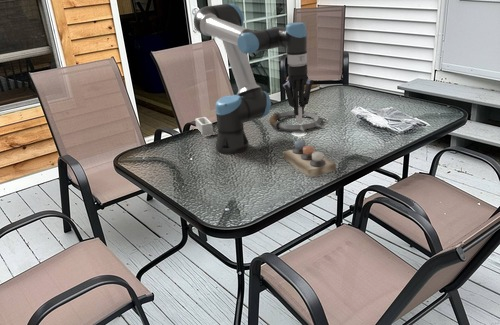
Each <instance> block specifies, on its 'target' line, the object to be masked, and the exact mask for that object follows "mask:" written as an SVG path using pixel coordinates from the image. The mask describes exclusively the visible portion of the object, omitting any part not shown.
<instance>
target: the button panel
mask: <svg viewBox="0 0 500 325" xmlns="http://www.w3.org/2000/svg"><path fill="white" fill-rule="evenodd" d="M314 152H318V151H317V150H315V149H314ZM282 154H283V159H284V160H285V161H287V162H288V163H290V164H291V165H292V166H293V167H294V168H296V169H297V170H298V171H300V172H301V173H302V174H303V175H305V176H306V177H308V178H312V177H316V176H320V175H324V173H325V174H328V172H329V173H332V171H333V172H336V171H335V170H337V164H336V163H335V162H333V161H332V160H330V159H329V158H328V157H326V156H325V155H323V160H321V161H314V160H312V154H309V155H308V154H304V153H303V148H295V147H294V148H293V149H287V150H284V151H283V153H282Z"/></svg>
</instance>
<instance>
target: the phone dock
mask: <svg viewBox="0 0 500 325" xmlns="http://www.w3.org/2000/svg"><path fill="white" fill-rule="evenodd" d="M194 120H195V128H196V129H198V130H199V131H200V132H201V134H202V135H207V134H213V131H214V129H213V122H211V120H209V119H208V117H206V116H202V117H197V118H194Z"/></svg>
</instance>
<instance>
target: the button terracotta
mask: <svg viewBox="0 0 500 325" xmlns="http://www.w3.org/2000/svg"><path fill="white" fill-rule="evenodd" d="M314 150H315V147H314V146H312V145H305V146H304V147H303V153H304V154H308V155H309V154H312V153H314Z"/></svg>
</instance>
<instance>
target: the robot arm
mask: <svg viewBox="0 0 500 325" xmlns="http://www.w3.org/2000/svg"><path fill="white" fill-rule="evenodd" d="M244 19H245V18H244V14H243V12H242V9H241V8H240V7H239V6H238V5H236V4H234V3H223V4H216V5H209V6H208V5H206V6H204V7H201V8H200V9H198V10H197V11H196V12H195V15H194V17H193V26H194V28H195V30H196V31H197V32H198V33H200V34H201V35H203V36H206V37H214V38H217V39H218V40H221V41H222V44H223V47H224V50H225V53H226V56H227V59H228V61H229V65H230V69H231V71H232V74H233V77H234V79H235V80H234V81H235V83H236V86H237V89H238V90H237V93H236V94H231V95H225V96H222V97H220V98H219V99H218V100H216V102H215V115H216V116H215V118H216V123H217V124H216V125H217V126H216V127H217V134H218V135H216V136H217V138H216V141H215V149H216V151H217V152H218V153H221V154H227V155H230V154H239V153H242V152H245V151H247V150H248V149H249V146H250V145H249V144H250V143H249V139H248V137H247V135H246V133H245V130H244V129H245V128H244V123H245V124H246V123H248V122H250V121H254V120H257V119H261V118H264V117H266V116H268V114H269V113H270V110H271V107H272V104H271V103H272V102H271V97H270V95H269V94H268V93H267V91H264V90H262V87H261V86H260V85H259V84H257V82H256V80H255V79H256V78H255V77H254V73H253V70H252V67H251V64H250V60H249V58H248V55H247V54H254V53H257V52H263V51H267V50H272V49H276V48H277V49H278V48H285V49H286V53H287V54H286V55H287V74H288V77H287V80H286V81H287V82H285V83H282V87H283V89H284V92H285V94H286V99H287V102H288V105H289V106H290V107H292V108H293V111H294V114H295V115H296V117H295V122H296V123H297V124H302V123H303V117H302V114H304V111H305V107H306V106H307V105H308V104H309V101H310V95H311V90H312V87H313V86H312V85H313V84H314V80H313V79H311V78H309V76H308V64H307V63H308V52H307V51H308V48H307V47H308V46H307V37H308V33H307V25H306V23H305V22H300V21H299V22H296V21H295V22H290V23H287V24H286V26H285V27H280V26H270V27H268V28H267V29H261V30H251V29H249V28H246V27H243V25H244ZM291 90H292V91H291Z"/></svg>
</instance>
